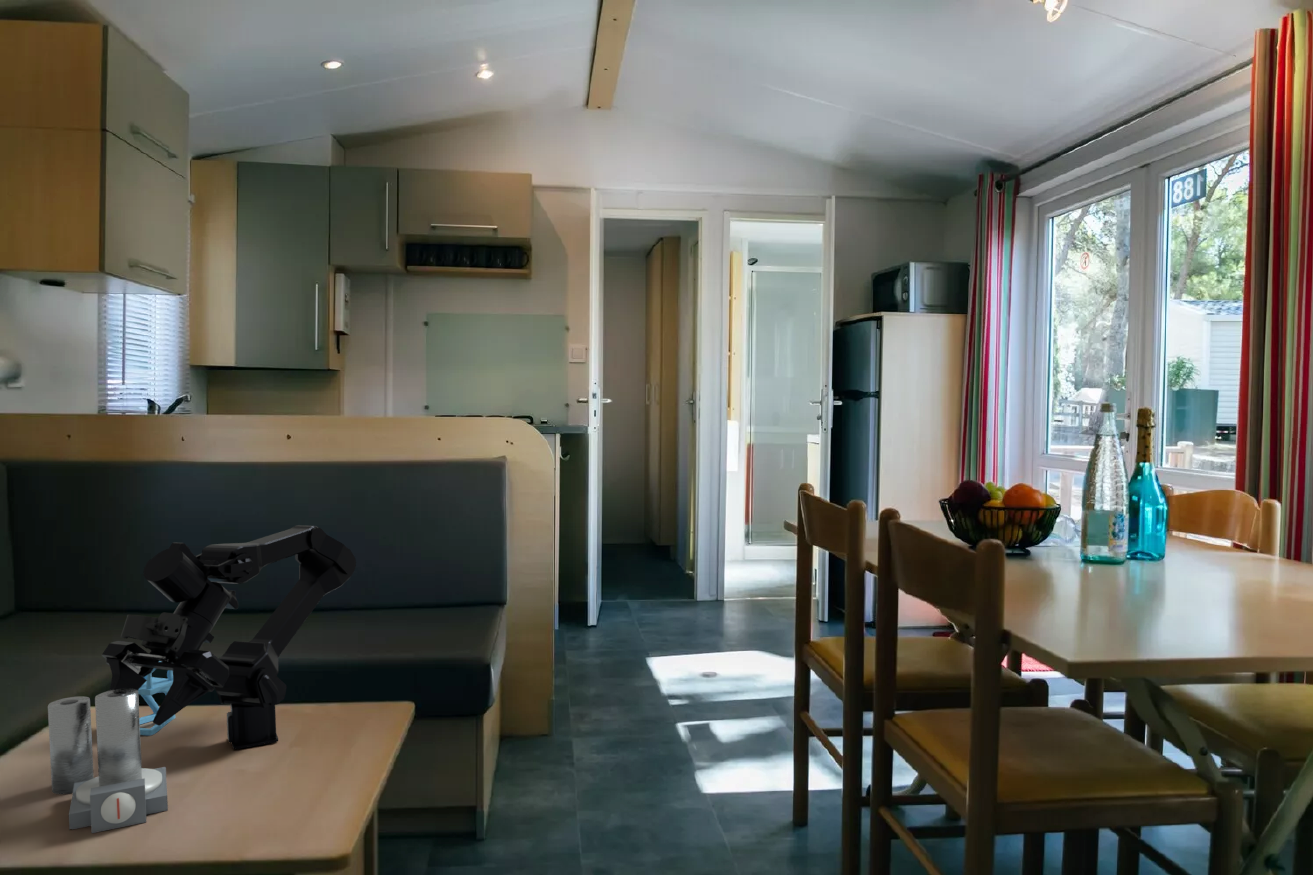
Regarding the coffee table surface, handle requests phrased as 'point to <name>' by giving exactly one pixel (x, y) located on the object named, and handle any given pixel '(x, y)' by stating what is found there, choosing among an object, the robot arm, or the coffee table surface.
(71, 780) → the cylinder
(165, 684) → the chair
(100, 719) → the silver metal cylinder
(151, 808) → the scale
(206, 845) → the coffee table surface
